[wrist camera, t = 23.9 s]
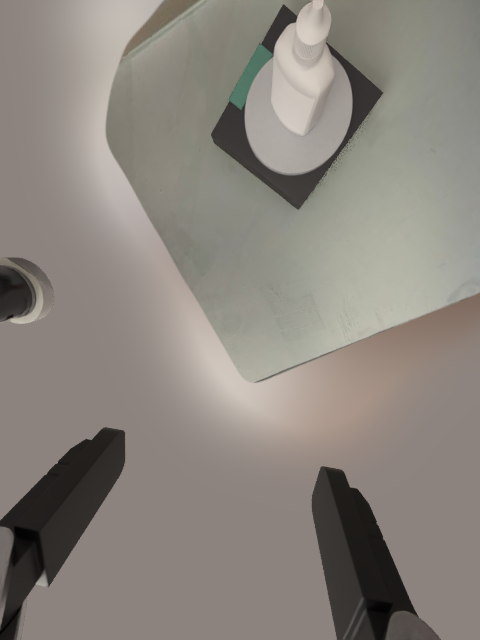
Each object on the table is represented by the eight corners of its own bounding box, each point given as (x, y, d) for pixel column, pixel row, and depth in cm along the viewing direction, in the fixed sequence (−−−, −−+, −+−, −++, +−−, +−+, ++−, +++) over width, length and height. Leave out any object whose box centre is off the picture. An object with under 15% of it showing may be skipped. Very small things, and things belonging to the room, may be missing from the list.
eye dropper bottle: (281, 147, 27) (296, 70, 16) (267, 92, 26) (272, -35, 15) (318, 131, 27) (362, 38, 15) (306, 74, 25) (343, -76, 14)
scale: (214, 142, 31) (208, 130, 28) (280, 24, 27) (283, -6, 24) (298, 209, 32) (302, 205, 29) (373, 105, 28) (387, 87, 25)
